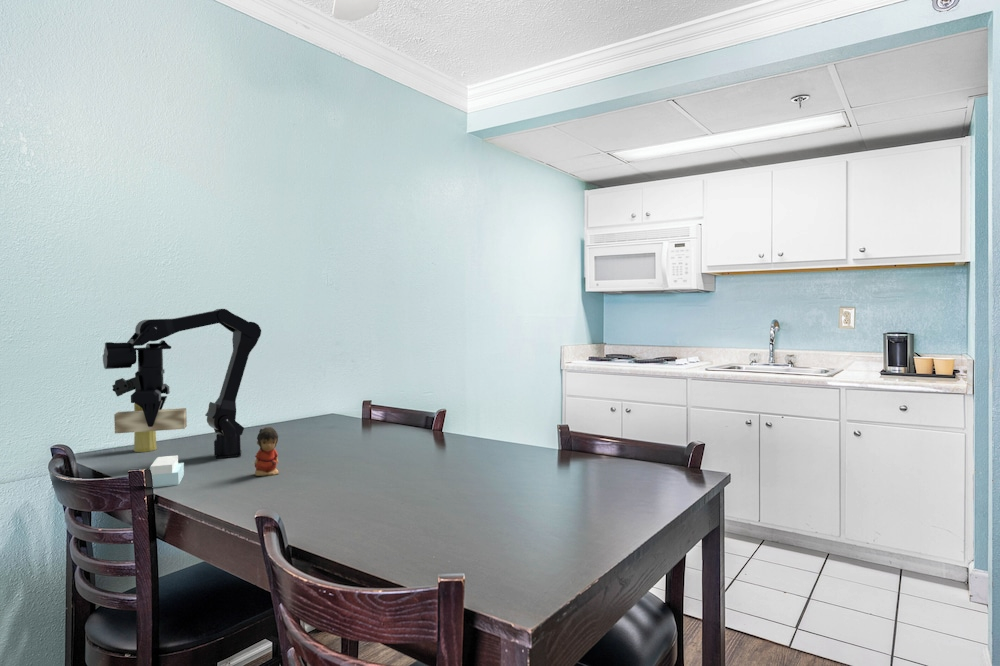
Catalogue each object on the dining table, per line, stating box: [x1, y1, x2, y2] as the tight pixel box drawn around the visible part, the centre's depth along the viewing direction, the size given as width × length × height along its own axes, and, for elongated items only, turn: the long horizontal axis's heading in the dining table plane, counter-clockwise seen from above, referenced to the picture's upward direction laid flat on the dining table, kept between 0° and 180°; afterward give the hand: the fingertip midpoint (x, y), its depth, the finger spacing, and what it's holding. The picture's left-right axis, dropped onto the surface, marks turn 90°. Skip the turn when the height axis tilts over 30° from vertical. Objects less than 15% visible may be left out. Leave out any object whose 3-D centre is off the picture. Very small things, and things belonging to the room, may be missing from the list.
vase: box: [133, 403, 158, 453], centre depth 178 cm, size 6×6×14 cm
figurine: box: [254, 426, 280, 477], centre depth 150 cm, size 6×6×12 cm
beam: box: [113, 407, 188, 434], centre depth 157 cm, size 16×4×5 cm, turn 111°
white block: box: [149, 455, 185, 488], centre depth 144 cm, size 7×10×5 cm
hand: (152, 425), depth 157 cm, fingers closed on beam, 4 cm apart
